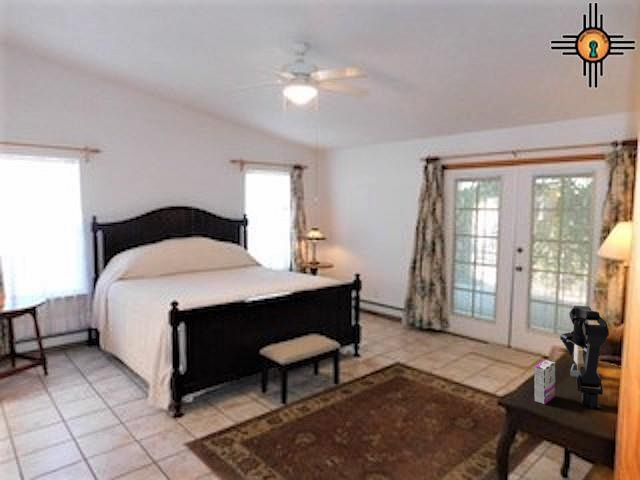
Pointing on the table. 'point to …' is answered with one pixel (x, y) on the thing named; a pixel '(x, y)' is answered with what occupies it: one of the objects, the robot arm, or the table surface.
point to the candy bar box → (544, 381)
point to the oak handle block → (580, 359)
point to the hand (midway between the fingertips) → (578, 360)
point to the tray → (574, 371)
